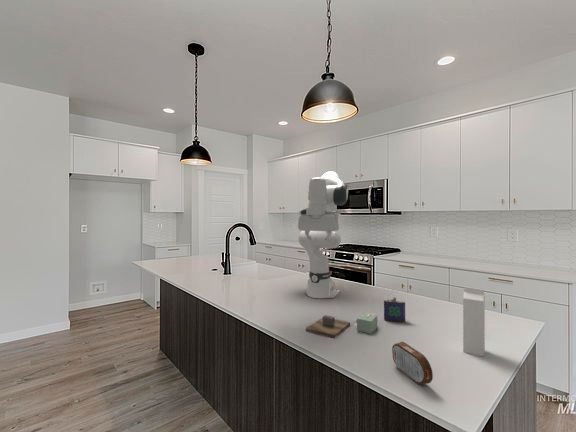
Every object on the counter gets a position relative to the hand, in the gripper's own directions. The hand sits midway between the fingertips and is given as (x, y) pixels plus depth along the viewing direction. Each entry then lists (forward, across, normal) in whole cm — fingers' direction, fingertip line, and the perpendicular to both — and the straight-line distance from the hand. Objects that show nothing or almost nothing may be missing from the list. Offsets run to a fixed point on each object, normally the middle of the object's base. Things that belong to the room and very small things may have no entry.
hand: (317, 240), depth 139 cm
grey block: (+36, -10, +9) cm, 39 cm away
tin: (+37, -48, +28) cm, 67 cm away
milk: (+36, -62, -1) cm, 72 cm away
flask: (+36, -31, -16) cm, 50 cm away
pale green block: (+36, -24, +1) cm, 43 cm away
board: (+36, -10, +9) cm, 39 cm away
